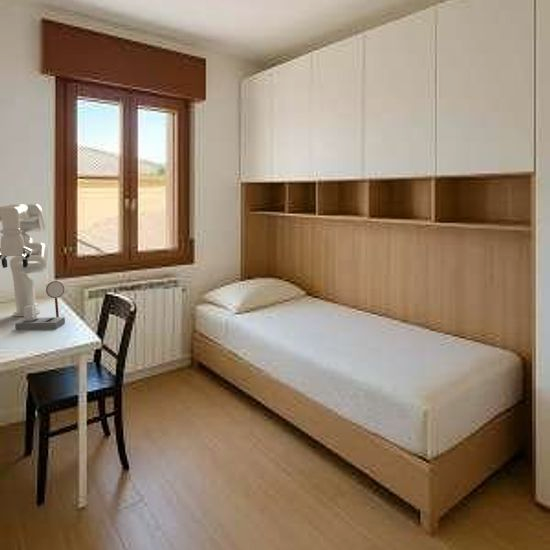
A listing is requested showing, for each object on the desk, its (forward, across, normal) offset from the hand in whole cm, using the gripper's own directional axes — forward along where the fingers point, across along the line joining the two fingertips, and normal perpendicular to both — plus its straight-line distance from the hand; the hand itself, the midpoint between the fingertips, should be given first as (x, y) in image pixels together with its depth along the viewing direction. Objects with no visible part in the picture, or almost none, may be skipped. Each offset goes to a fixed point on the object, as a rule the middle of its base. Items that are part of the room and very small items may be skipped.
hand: (15, 267), depth 238 cm
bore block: (+28, +13, -7) cm, 32 cm away
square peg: (+28, +8, -7) cm, 30 cm away
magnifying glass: (+28, +16, +6) cm, 33 cm away
